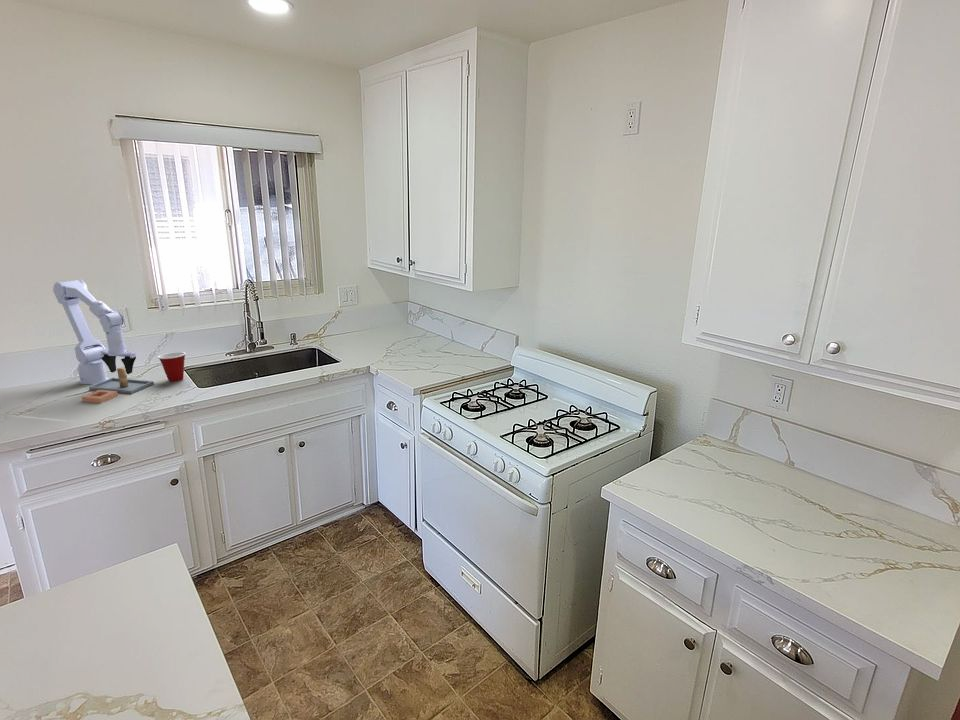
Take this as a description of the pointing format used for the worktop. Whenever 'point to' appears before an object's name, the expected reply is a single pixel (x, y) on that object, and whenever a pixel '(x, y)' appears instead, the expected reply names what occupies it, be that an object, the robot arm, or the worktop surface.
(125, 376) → the dowel pin
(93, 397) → the orange square hole block
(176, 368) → the plastic cup
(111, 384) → the tray
